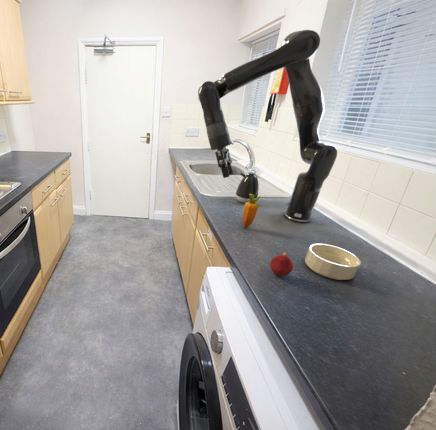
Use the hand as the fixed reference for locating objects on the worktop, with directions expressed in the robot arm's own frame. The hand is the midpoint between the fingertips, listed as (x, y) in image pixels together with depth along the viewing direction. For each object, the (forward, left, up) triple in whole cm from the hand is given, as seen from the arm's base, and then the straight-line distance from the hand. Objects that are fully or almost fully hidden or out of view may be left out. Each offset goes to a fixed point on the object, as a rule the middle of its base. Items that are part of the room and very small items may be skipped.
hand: (228, 175), depth 104 cm
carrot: (+2, +10, -21) cm, 23 cm away
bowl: (+25, +30, -21) cm, 45 cm away
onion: (+33, +13, -21) cm, 41 cm away
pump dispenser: (-30, +16, -21) cm, 40 cm away
